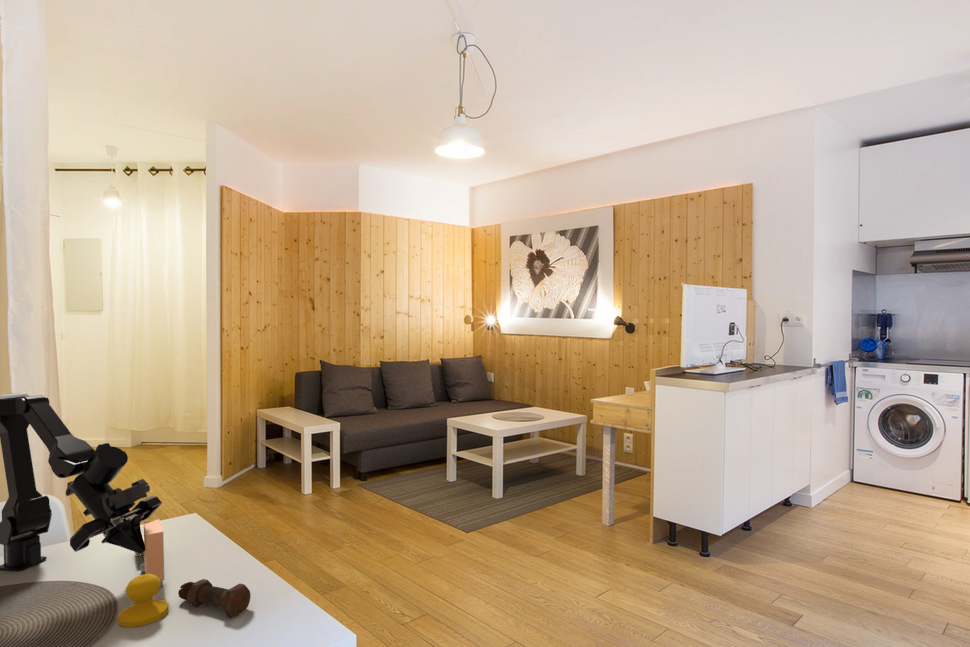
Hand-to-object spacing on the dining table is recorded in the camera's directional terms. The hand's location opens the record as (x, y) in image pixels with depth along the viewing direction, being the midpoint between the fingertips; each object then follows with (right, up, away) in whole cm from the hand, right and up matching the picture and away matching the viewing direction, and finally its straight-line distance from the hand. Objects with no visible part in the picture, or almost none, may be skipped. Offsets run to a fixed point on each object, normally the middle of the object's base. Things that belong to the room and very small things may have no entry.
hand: (143, 551), depth 116 cm
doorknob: (+8, -7, -13) cm, 17 cm away
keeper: (-8, -7, +14) cm, 17 cm away
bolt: (+19, -7, -10) cm, 23 cm away
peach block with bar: (-2, -7, +6) cm, 9 cm away
